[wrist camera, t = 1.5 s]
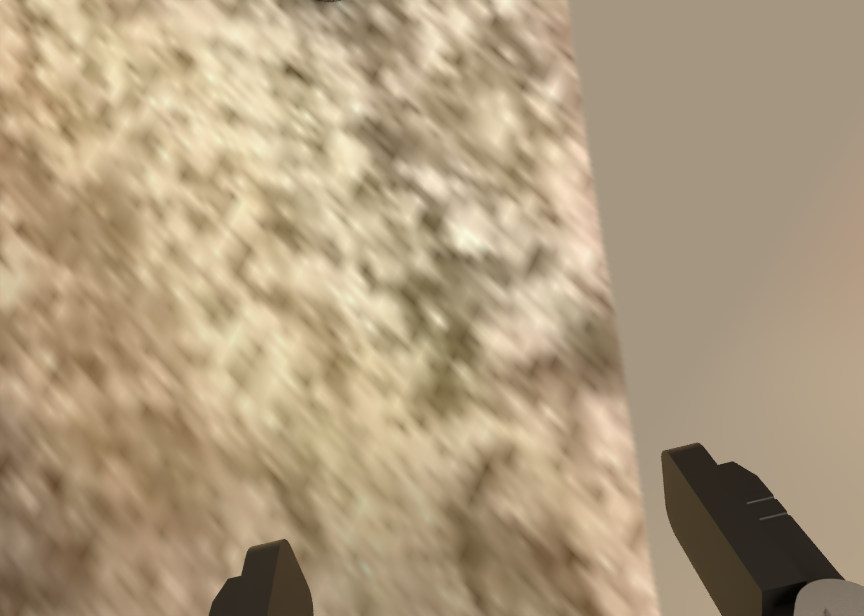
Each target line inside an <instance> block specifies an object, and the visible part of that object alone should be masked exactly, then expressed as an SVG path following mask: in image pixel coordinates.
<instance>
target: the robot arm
mask: <svg viewBox="0 0 864 616" xmlns="http://www.w3.org/2000/svg"><path fill="white" fill-rule="evenodd" d="M661 459H662V471H663V482H664V493H665V503H666V504H665V505H666V510H667V515H668V518H669V521H670V524H671V527H672V529H673V532H674V533H675V536H676V537H677V539H678V541H679V543H680V544H681V546H682V548H683V549H684V551H685V553H686V555H687V556H688V558H689V560H690V562H691V563H692V565H693V567H694V568H695V570H696V572H697V574H698V575H699V577H700V579H701V580H702V582H703V584H704V586H705V587H706V589H707V591H708V592H709V594H710V596H711V598H712V599H713V601H714V602H715V605H716V606H717V608H718V610H719V611H720V613H721V615H722V616H864V587H863V586H861V585H859V584H856V583H853V582H850V581H845V579H844V578H843V577H842V576H841V575H840V574H839V573H838V572H837V571H836V569H835V568H834V567H833V566H832V565H831V563H830V562H829V561H828V560H827V558H826V557H825V556H824V555H823V554H822V552H821V551H820V550H819V549H818V548H817V547H816V545H815V544H814V543H813V542H812V541H811V539H810V538H809V537H808V536H807V535H806V533H805V532H804V531H803V530H802V529H801V527H800V526H799V525H798V524H797V523H796V522H795V520H794V519H793V518H792V517H791V516H790V515H788V514H787V511H786V510H785V509H784V507H783V506H782V505H781V504H780V502H779V501H778V500H777V499H774V496H773V494H772V493H771V492H770V490H769V489H768V488H767V487H766V486H765V485H764V483H763V482H762V481H761V480H760V479H759V477H758V476H757V475H755V474H753V473H751V472H750V471H748V470H747V469H745V468H743V467H742V466H740V465H738V464H737V463H735V462H728V463H724V464H720V465H717V463H716V462H715V461H714V460H713V458H712V457H711V456H710V454H709V453H708V452H707V450H706V449H705V448H704V447H703V446H702V445H701V444H700V443H694V444H690V445H686V446H681V447H677V448H674V449H669V450H665V451H663V452H662V456H661ZM209 616H314V614H313V602H312V597H311V593H310V589H309V587H308V584H307V582H306V580H305V578H304V575H303V573H302V571H301V569H300V566H299V564H298V562H297V559H296V557H295V555H294V553H293V550H292V548H291V546H290V544H289V542H288V541H287V540H286V539H282V540H278V541H274V542H270V543H266V544H261V545H257V546H253V547H250V548H249V549H248V551H247V554H246V558H245V562H244V566H243V571H242V575H241V576H238V577H234V578H230V579H228V580H227V581H226V583H225V584H224V586H223V587H222V589H221V590H220V592H219V593H218V595H217V596H216V598H215V599H214V601H213V602H212V606H211V609H210V613H209Z"/></svg>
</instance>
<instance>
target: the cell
mask: <svg viewBox="0 0 864 616" xmlns="http://www.w3.org/2000/svg"><path fill="white" fill-rule="evenodd" d="M318 1H323V2H335V1H339V0H318Z"/></svg>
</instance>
